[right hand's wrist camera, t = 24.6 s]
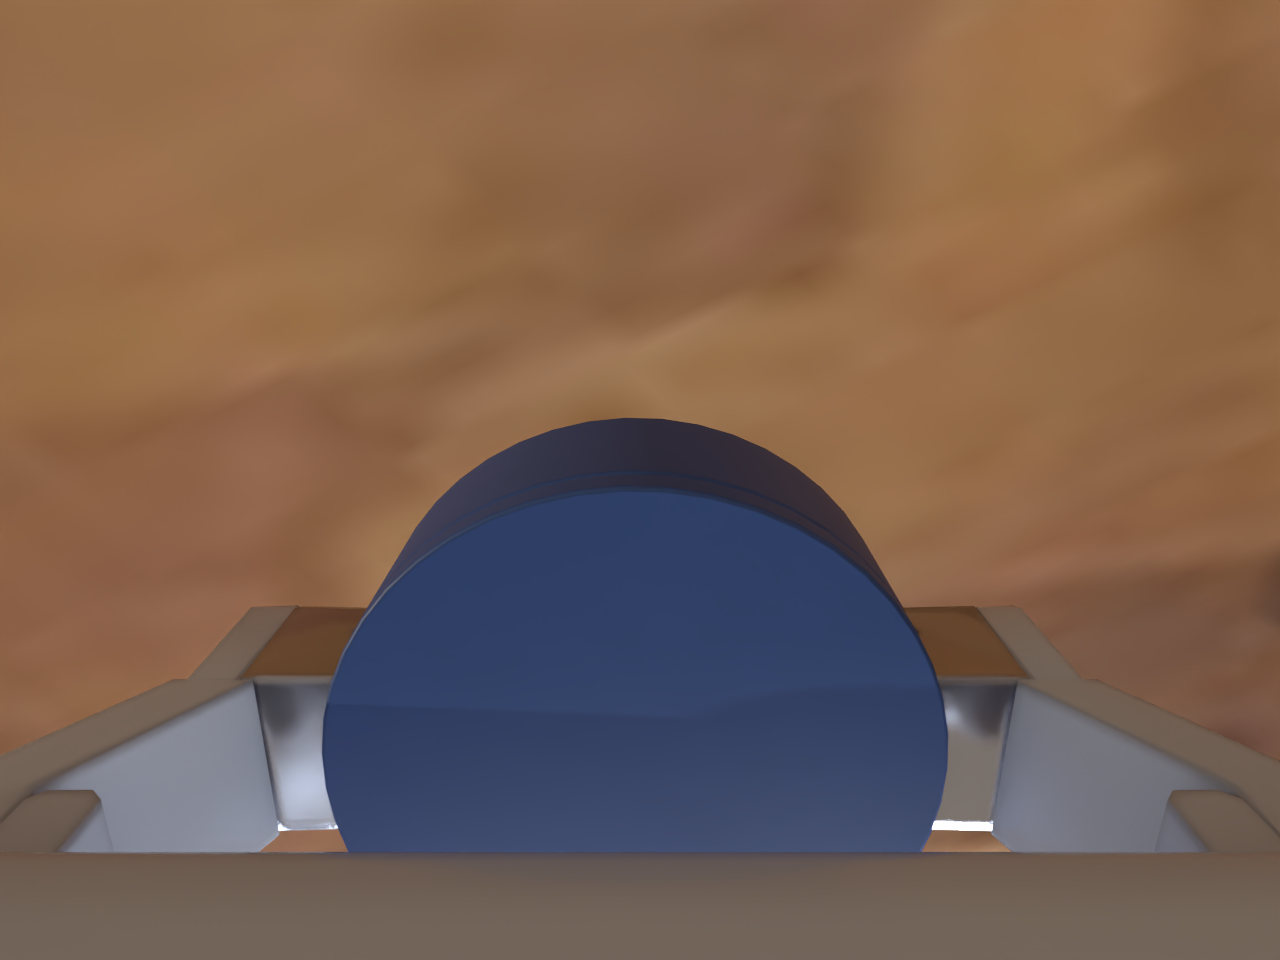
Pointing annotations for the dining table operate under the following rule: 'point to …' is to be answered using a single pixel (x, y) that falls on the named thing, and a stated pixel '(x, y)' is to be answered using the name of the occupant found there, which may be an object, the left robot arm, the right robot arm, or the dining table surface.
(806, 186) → the dining table surface
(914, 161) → the dining table surface
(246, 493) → the dining table surface
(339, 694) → the lid
